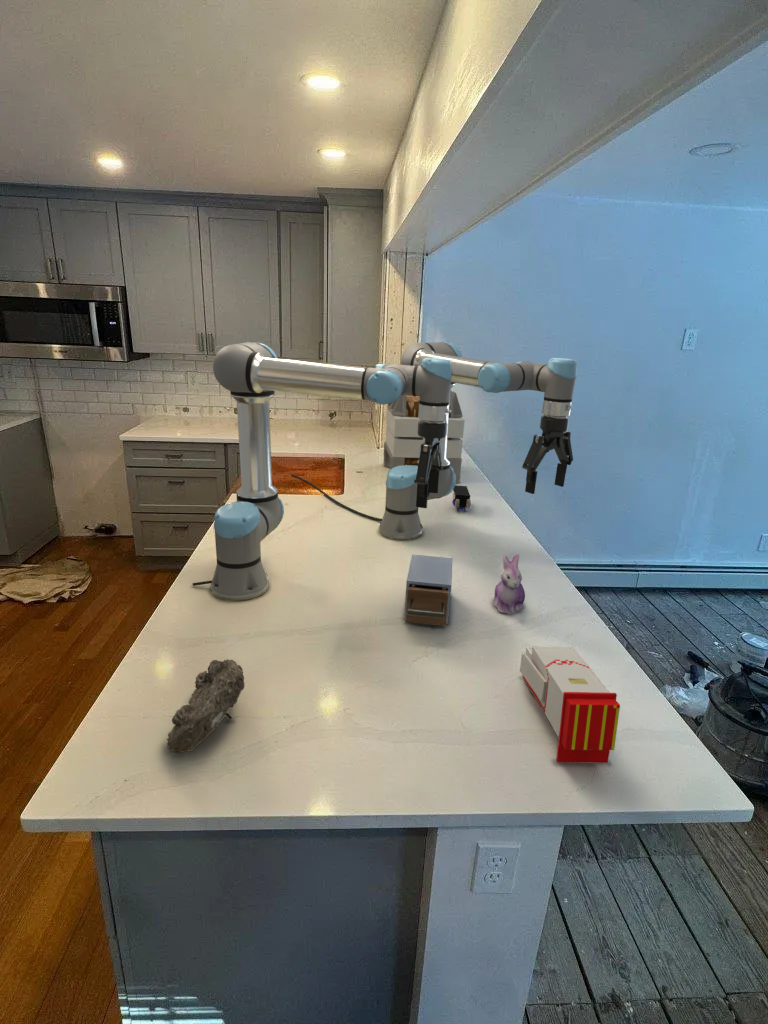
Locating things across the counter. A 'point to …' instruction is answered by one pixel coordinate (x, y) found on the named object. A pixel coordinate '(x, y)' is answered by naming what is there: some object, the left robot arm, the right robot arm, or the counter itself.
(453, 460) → the grey slatted crate
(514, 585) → the figurine
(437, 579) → the cabinet
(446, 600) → the drawer
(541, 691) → the toy
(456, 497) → the figurine character
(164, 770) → the counter surface
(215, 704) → the fossil
